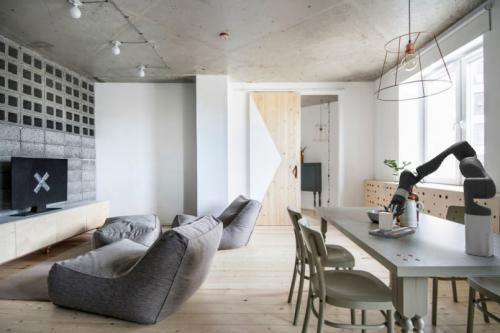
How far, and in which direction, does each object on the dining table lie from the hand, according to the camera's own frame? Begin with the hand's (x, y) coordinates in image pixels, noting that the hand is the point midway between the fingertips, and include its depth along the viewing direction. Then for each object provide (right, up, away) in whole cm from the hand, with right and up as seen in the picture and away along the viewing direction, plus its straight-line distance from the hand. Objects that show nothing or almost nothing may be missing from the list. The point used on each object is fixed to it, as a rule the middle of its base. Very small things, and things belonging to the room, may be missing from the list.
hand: (389, 220), depth 164 cm
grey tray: (+2, -7, +1) cm, 8 cm away
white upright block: (-3, -6, -3) cm, 7 cm away
